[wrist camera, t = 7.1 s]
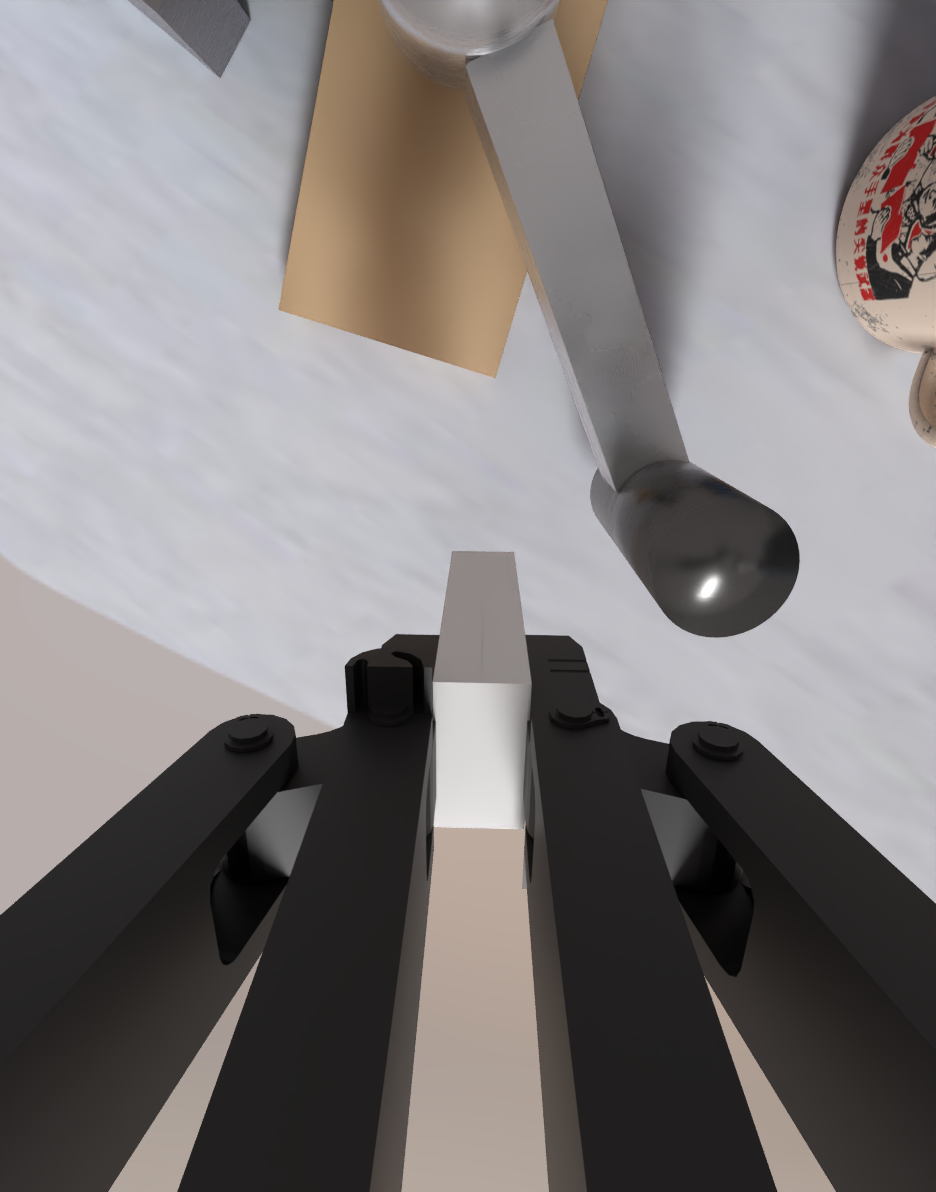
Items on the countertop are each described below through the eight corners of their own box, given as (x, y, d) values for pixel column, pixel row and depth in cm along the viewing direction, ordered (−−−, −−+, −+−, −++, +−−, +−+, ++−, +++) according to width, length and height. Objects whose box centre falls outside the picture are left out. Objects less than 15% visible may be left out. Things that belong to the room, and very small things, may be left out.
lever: (211, -423, 16) (-51, -1200, 8) (401, -552, 16) (329, -1553, 7) (588, 559, 26) (647, 667, 18) (719, 507, 25) (845, 594, 17)
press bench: (673, -234, 20) (695, -293, 18) (493, 374, 26) (495, 377, 24) (414, -346, 19) (408, -419, 17) (292, 311, 25) (278, 309, 24)
